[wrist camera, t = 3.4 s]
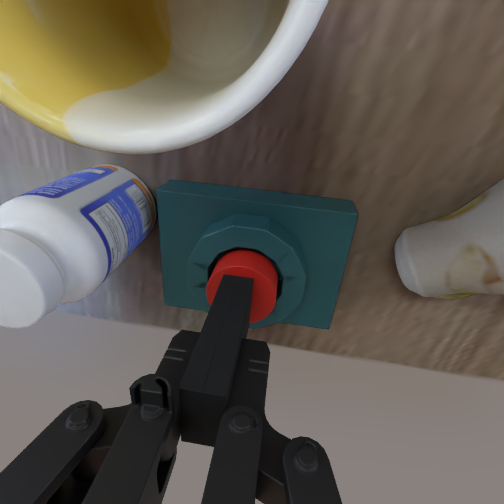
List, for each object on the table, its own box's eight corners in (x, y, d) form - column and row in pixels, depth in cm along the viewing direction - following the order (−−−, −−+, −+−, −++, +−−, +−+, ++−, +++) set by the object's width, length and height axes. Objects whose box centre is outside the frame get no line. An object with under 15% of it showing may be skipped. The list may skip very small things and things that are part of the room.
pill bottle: (71, 216, 21) (-80, 304, 13) (90, 145, 19) (-81, 196, 10) (143, 255, 22) (46, 362, 14) (171, 191, 20) (73, 274, 11)
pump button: (281, 254, 17) (279, 271, 15) (274, 308, 18) (271, 328, 17) (214, 245, 17) (206, 261, 15) (213, 299, 19) (205, 318, 17)
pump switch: (352, 200, 18) (365, 228, 15) (326, 308, 22) (331, 350, 19) (170, 178, 19) (141, 199, 16) (175, 286, 23) (152, 322, 20)
